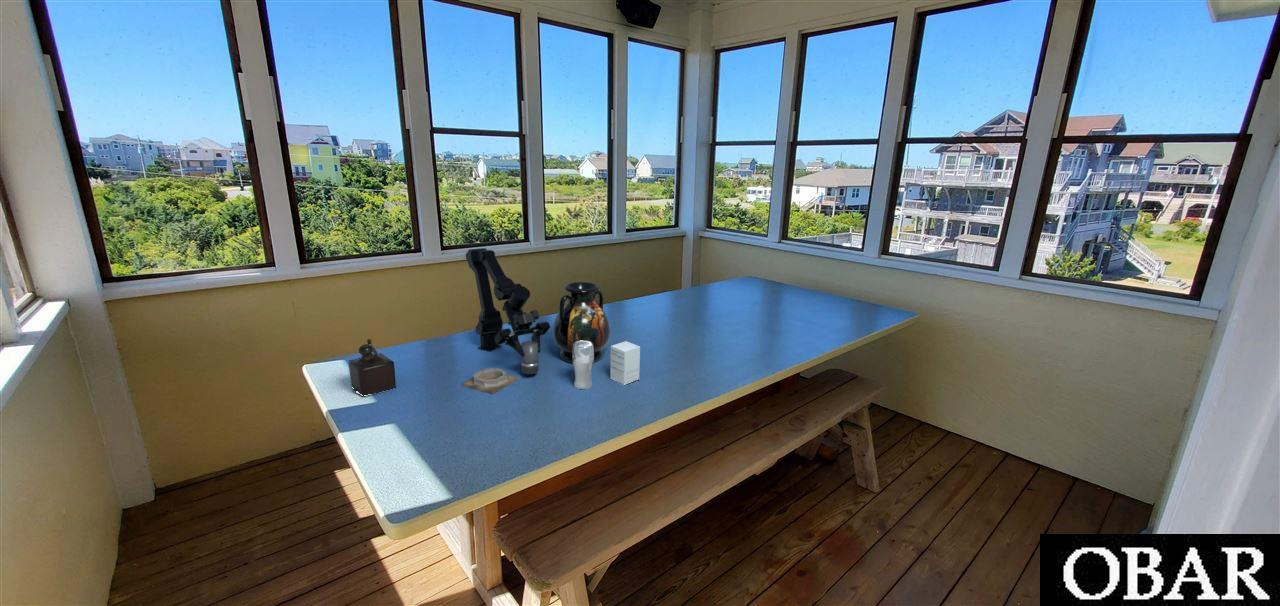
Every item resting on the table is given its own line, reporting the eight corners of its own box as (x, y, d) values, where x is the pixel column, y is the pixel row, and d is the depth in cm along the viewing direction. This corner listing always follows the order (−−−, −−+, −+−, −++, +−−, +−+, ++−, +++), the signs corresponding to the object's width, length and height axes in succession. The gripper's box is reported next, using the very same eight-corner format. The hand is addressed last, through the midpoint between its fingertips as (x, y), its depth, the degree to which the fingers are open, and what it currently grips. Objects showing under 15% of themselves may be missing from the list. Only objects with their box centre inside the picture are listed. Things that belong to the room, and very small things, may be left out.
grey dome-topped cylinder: (518, 372, 175) (517, 344, 172) (528, 366, 180) (527, 339, 177) (531, 375, 173) (531, 347, 170) (541, 369, 178) (541, 342, 175)
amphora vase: (574, 372, 181) (574, 296, 173) (542, 354, 196) (541, 283, 189) (621, 359, 195) (623, 287, 187) (588, 343, 210) (588, 276, 203)
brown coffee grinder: (348, 388, 163) (341, 334, 158) (384, 378, 171) (378, 327, 166) (367, 404, 153) (360, 348, 148) (404, 393, 161) (398, 339, 156)
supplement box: (625, 374, 181) (626, 340, 178) (639, 380, 176) (641, 346, 173) (609, 379, 176) (610, 345, 173) (624, 386, 171) (625, 351, 168)
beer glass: (589, 391, 167) (590, 348, 163) (569, 389, 168) (569, 346, 164) (596, 382, 173) (596, 341, 169) (576, 380, 175) (576, 339, 171)
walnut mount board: (462, 385, 168) (462, 377, 167) (488, 372, 179) (488, 364, 178) (492, 394, 163) (492, 385, 162) (517, 379, 174) (517, 371, 173)
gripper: (497, 307, 167) (513, 349, 162) (547, 299, 179) (564, 337, 174) (487, 323, 175) (503, 364, 170) (536, 314, 187) (552, 352, 182)
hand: (531, 354), depth 174 cm, fingers closed on grey dome-topped cylinder, 6 cm apart
